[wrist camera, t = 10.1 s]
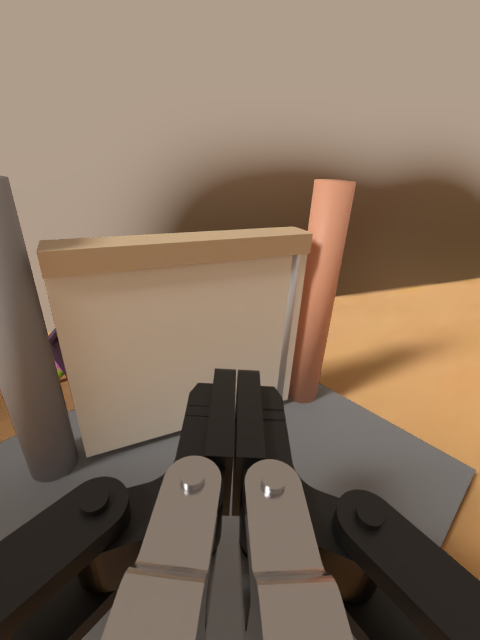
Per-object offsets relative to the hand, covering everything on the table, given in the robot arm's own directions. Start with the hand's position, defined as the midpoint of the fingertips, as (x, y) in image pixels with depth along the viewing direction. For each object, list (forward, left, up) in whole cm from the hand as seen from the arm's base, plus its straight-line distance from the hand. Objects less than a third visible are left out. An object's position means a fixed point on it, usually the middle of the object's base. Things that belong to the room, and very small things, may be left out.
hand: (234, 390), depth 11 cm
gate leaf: (+4, +8, -10) cm, 13 cm away
